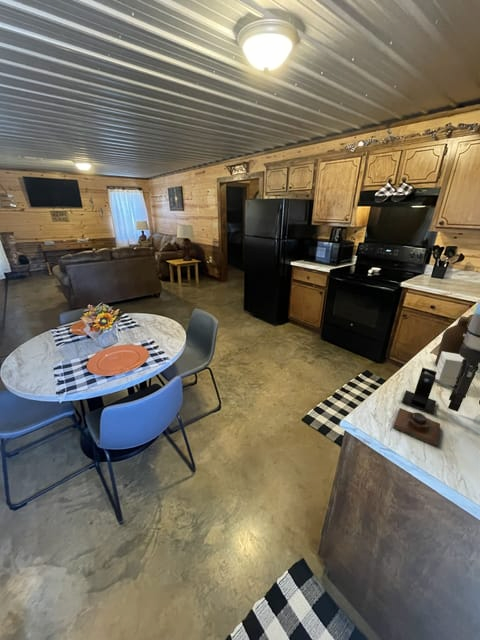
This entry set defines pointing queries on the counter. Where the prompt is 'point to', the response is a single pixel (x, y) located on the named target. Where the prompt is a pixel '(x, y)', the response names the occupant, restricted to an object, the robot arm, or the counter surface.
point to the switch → (442, 383)
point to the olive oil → (453, 338)
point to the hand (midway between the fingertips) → (453, 405)
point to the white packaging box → (448, 368)
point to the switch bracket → (422, 393)
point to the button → (419, 418)
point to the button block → (417, 427)
